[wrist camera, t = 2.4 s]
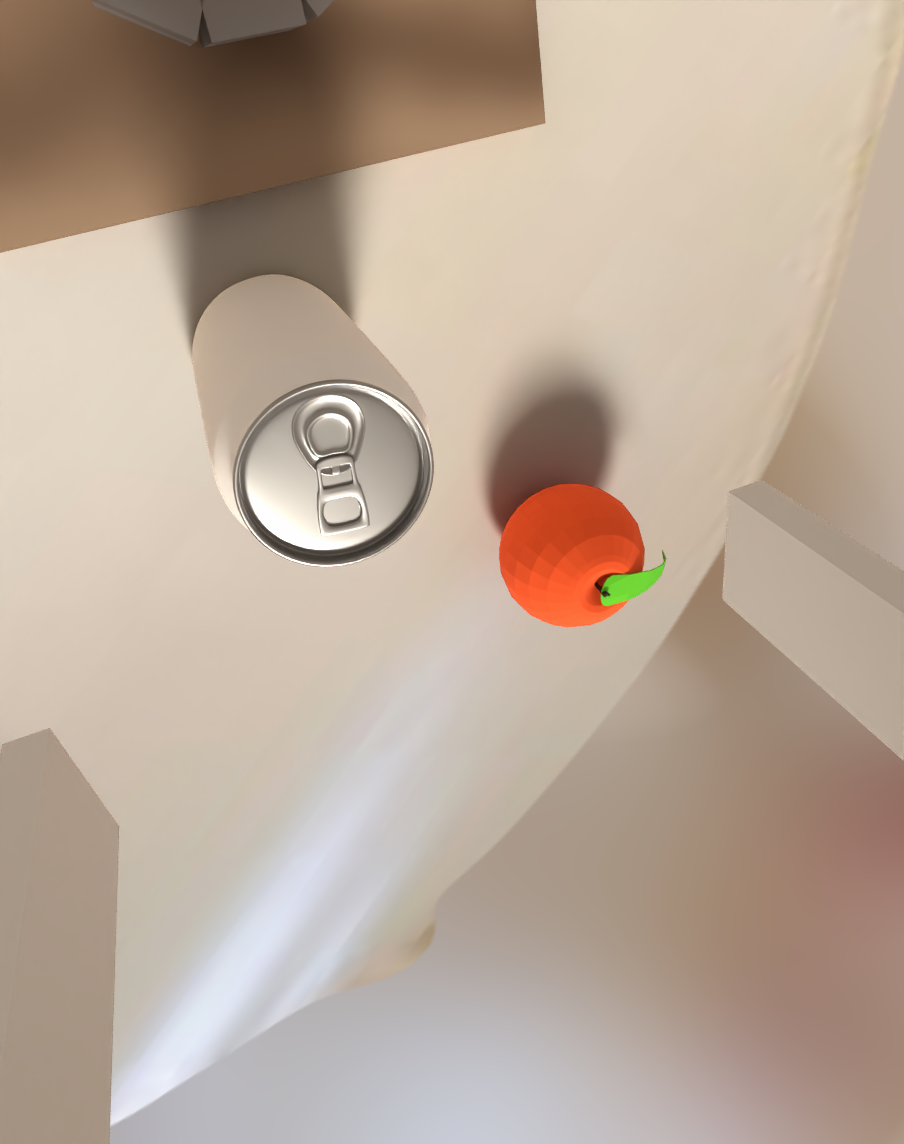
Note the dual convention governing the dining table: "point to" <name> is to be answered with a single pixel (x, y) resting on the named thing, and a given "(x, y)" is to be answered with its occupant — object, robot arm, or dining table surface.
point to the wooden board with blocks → (239, 98)
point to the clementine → (573, 556)
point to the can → (308, 424)
